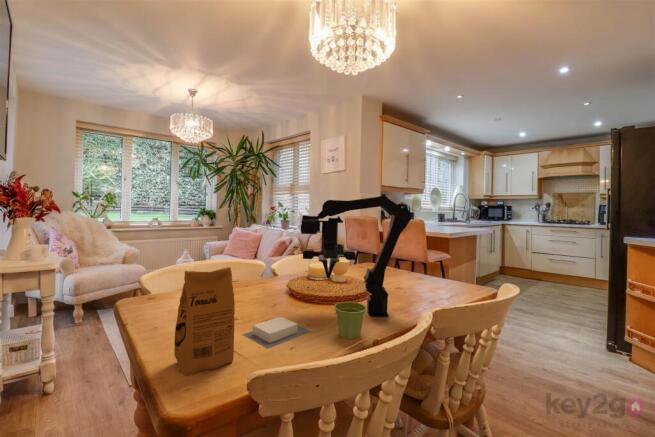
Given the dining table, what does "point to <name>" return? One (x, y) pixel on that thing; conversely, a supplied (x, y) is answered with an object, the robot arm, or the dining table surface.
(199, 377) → the dining table surface
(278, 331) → the white flat block
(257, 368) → the dining table surface
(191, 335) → the coffee package
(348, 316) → the plant pot
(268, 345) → the mat
